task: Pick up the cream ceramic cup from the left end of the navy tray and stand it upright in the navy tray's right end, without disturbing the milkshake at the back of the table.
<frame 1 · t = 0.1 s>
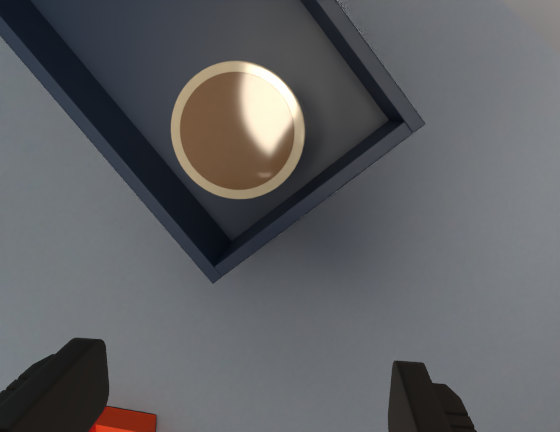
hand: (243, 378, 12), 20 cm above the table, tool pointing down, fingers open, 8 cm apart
cup: (261, 127, 29), resting on navy tray
navy tray: (197, 44, 29), on the table
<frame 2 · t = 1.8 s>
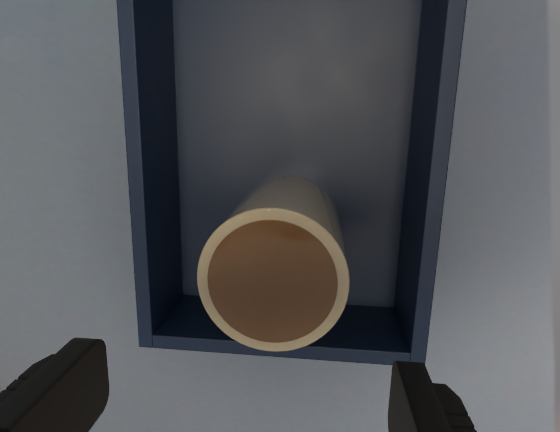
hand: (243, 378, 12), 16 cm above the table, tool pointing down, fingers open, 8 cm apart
cup: (288, 228, 27), resting on navy tray
navy tray: (291, 114, 25), on the table
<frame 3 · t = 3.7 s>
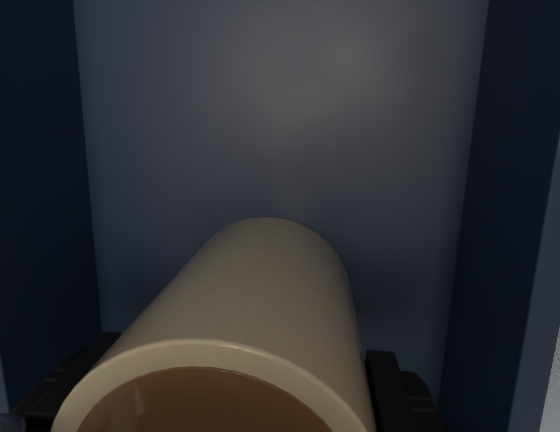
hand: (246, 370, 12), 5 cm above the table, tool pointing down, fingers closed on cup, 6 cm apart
cup: (267, 297, 17), resting on navy tray, touching gripper
navy tray: (271, 115, 15), on the table
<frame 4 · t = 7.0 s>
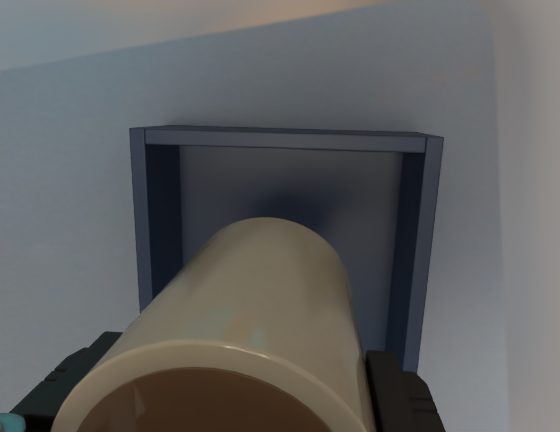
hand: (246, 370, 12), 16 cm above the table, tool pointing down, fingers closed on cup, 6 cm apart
cup: (267, 297, 17), point 12 cm above the table, touching gripper
navy tray: (284, 315, 29), on the table
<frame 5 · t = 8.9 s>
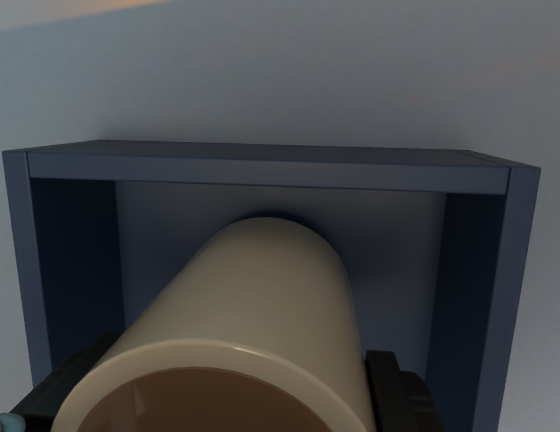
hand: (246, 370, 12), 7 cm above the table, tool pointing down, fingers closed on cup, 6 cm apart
cup: (267, 297, 17), point 2 cm above the table, touching gripper
navy tray: (271, 408, 21), on the table
when the fingers open (5 cm above the table, at t = 10.2 s): cup stays where it is, resting on navy tray.
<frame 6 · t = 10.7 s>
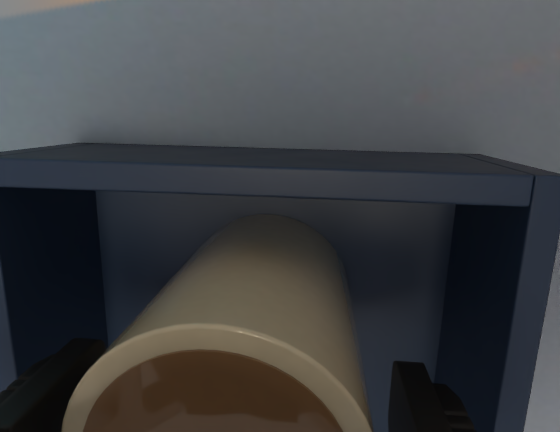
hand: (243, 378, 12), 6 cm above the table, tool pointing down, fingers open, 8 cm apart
cup: (267, 292, 17), resting on navy tray
navy tray: (266, 431, 19), on the table
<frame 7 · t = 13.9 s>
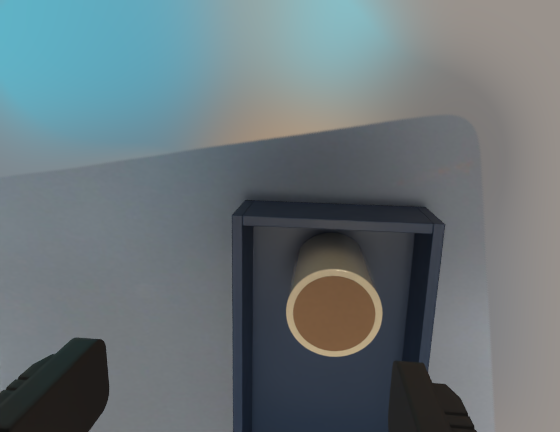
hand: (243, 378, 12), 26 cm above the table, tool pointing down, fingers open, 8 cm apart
cup: (330, 268, 38), resting on navy tray
navy tray: (326, 336, 40), on the table
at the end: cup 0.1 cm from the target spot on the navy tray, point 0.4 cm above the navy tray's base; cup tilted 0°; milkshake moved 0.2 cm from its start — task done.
